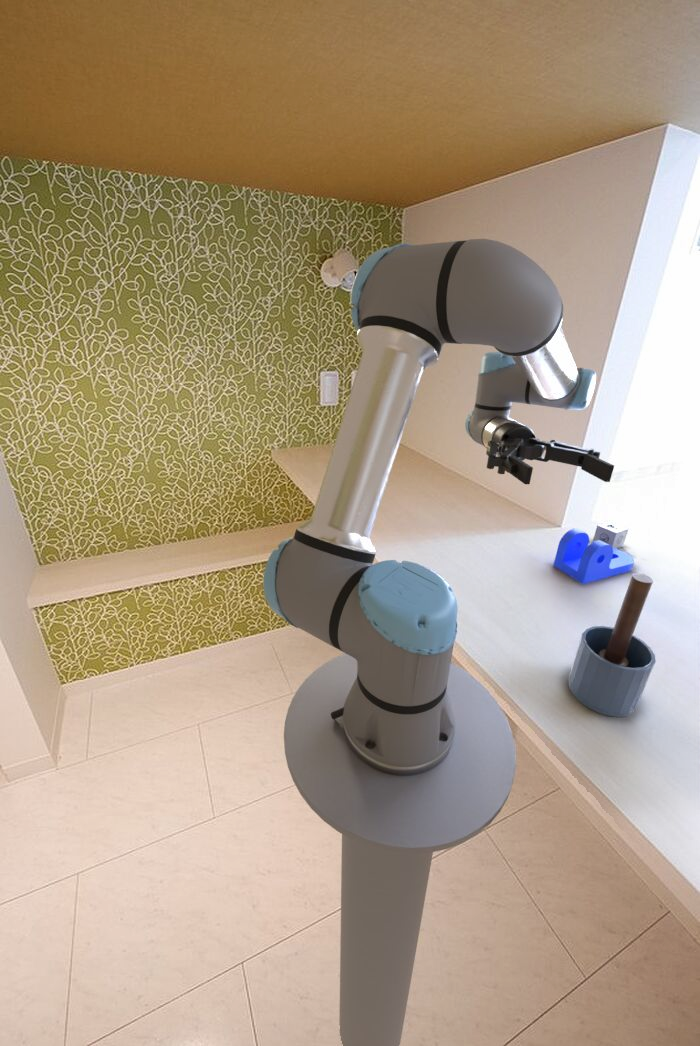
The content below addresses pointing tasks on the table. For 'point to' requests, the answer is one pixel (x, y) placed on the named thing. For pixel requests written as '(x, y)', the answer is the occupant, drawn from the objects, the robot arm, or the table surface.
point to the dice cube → (611, 534)
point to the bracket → (589, 558)
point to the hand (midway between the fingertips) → (570, 475)
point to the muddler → (627, 620)
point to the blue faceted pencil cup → (609, 674)
